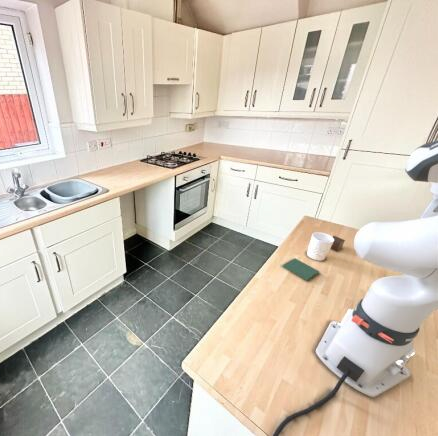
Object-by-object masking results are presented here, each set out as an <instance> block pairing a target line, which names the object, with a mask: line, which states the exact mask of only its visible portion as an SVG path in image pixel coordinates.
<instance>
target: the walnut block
mask: <svg viewBox="0 0 438 436" xmlns="http://www.w3.org/2000/svg"><path fill="white" fill-rule="evenodd" d="M332 237H333V238H334V242H333V244H332V246H331V248H330V250H333V251H335V252H338V251H340V250H341V249H342V248H343V246H344V244H345V241H346V239H343V238H341V237H339V236H336V235H332Z"/></svg>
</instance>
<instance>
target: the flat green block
mask: <svg viewBox="0 0 438 436" xmlns="http://www.w3.org/2000/svg"><path fill="white" fill-rule="evenodd" d="M282 267H283V268H284V269H286V270H287V271H289V272H291V273H292V274H294V275H296V276H298V277H300V278H301V279H303V280H304V281H306V282H308V281H310V280H311V279H313V278H314V277H315V276H317V275H318V274H319V273H320V271H319V270H318V269H316V268H314V267H312V266H310V265H308V264H307V263H305V262H303V261H301V260H299V259H297V258H293V259H291V260H289V261H287V262H285V263H283V265H282Z"/></svg>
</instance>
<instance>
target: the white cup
mask: <svg viewBox="0 0 438 436" xmlns="http://www.w3.org/2000/svg"><path fill="white" fill-rule="evenodd" d="M333 242H334V238H333V235H330V234H328V233H324V232H319V231H316V232H313V233H312V234H311V238H310V240H309V244H308V247H307V251H306V252H307V253H306V255H307V257H309V259H312V260H314V261H319V262H321V261H324V260H325V259H326V257H327V255H328V254H329V252H330V250H331V249H330V248H331V246H332V244H333Z"/></svg>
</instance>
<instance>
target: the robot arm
mask: <svg viewBox="0 0 438 436" xmlns="http://www.w3.org/2000/svg"><path fill="white" fill-rule="evenodd" d="M404 171H405V173H406V174H407V175H408V177H409V178H410V179H411V180H413V181H414V182H423V183H432V185H431V187H430V188H429V192H430V193H432V200H431V201H430V203H429V204H428V205H427V206H426V208H425V209H424V212H423V213H422V214H421V216H420V218H417V219H416V218H415V219H409V220H408V219H407V220H401V221H400V220H399V221H372V222H368V223H366V224H365V225H363V226H361V228H359V230H358V231H357V232H356V234H355V236H354V238H353V248H354V251H355V253H356V255H357V257H358V258H359V259H361V260H363V261H364V262H365V261H366V262H368V263H369V264H372V265H375V266H376V267H380V268H382V269H385V270H388V271H392V272H396V273H400V275H387V276H383V277H382V276H381V277H380V278H378V279H376V280H374V281H373V282H372V283H371V285H370V287H369V289H368V290H367V292H366V294H365V295H364V297H363V298H361V299H360V300H359V302H358V303H357V304H356V305H355V308H348V309H347V311H346V313H345V315H344V317H343V318H342V320H341V322H339V321H335V320H332V321H331V322H330V323H329V324H328V326H327V328H326V330H325V332H324V334H323V335H322V337H321V340H320V341H319V343H318V345H317V347H316V349H315V354H316V356H317V357H318V358H319V360H320V361H321V362H322V363H323V364H324V365H325V366H326V367H327V368H328V369H329V370H330V371H331V372H332V373H333V374H334V375H336V376H337V377H338V378H339V380H338V381H337V382H336V384H335V386H334V387H333V389H332V390H331V391H330V392H329V393H328V394H327V395H326V396H325V397H323V398H322V399H320V400H319V401H317V402H315V403H314V404H312V405H310V406H309V407H306V408H304V409H301V410H300V411H296V412H294V413H292V414H291V415H288V416H287V417H286V418H285V419H283V420H282V421H281V422H280V423H279V425H278V426H277V427H276V429H275V430H274V433H273V435H272V436H280V433H281V432H282V430H284V428H285V427H286V426H287V425H288V424H289V423H290V422H292V421H293V420H295V419H297V418H300V417H302V416H305V415H307V414H309V413H312V412H313V411H315V410H316V409H318V408H320V407H321V406H323V405H325V404H326V403H327V402H329V401H330V400H331V399H332V398H333V397H334V396H335V395H336V394H337V393H338V392H339V390H340V388H341V387H342V385H343V384H344V382H345V383H346V384H347V385H348V386H350V387H351V388H353V389H354V390H356V391H358V392H360V393H362V394H363V395H366V396H368V397H370V398H376V397H377V396H380V395H381V394H383V393H384V392H386V391H388V390H390V389H392V388H393V387H395V386H396V385H399V384H400V383H402V382H403V381H405V380H407V379H409V378H410V376H411V375H412V374H411V371H410V369H409V368H408V367H407V366H406V365H405V364H408V363H409V362H410V361H411V359H410V358H411V357H412V356H413V355H415V351H416V348H415V346H414V344H413V340H415V338H417V336H418V334H419V332H420V328H421V325H422V324H423V323H424V322H425V321H426V320H427V319H428V318H429V317H430V316H431V315H432V314H433V313H434V312H435V311H437V310H438V139H437V140H435V141H428V142H426V143H424V144H422V145H420V146H418V147H417V148H416V149H414V151H413V152H412V153H411V154H410V156H409V157H408V159H407V161H406V164H405V168H404Z"/></svg>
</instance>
